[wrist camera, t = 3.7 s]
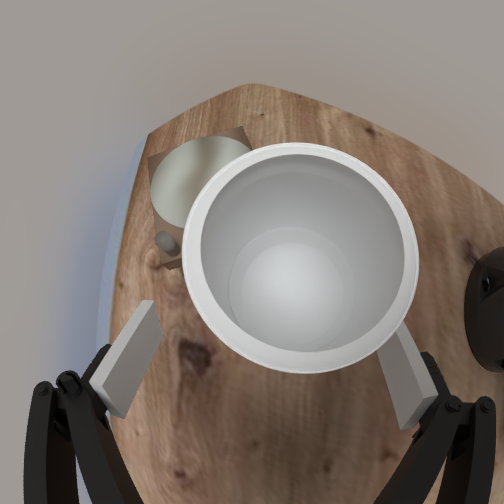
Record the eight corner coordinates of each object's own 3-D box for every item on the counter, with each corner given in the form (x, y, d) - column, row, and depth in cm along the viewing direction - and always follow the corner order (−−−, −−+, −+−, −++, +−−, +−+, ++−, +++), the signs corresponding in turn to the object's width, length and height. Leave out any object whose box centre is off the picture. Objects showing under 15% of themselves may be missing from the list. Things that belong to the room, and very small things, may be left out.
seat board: (243, 136, 32) (238, 107, 27) (282, 233, 27) (283, 210, 22) (153, 167, 32) (137, 142, 27) (169, 269, 27) (148, 253, 22)
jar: (218, 270, 26) (156, 186, 12) (315, 231, 27) (345, 121, 13) (259, 374, 23) (233, 416, 9) (361, 328, 23) (456, 301, 9)
